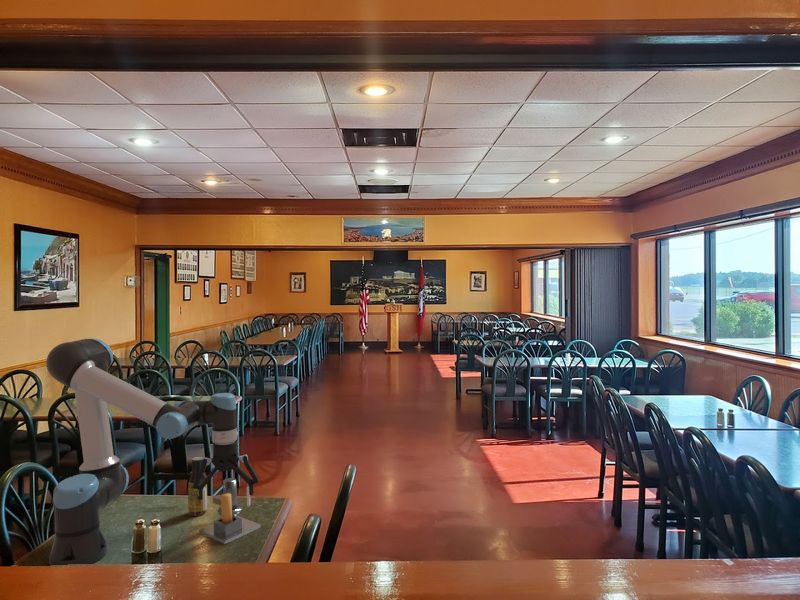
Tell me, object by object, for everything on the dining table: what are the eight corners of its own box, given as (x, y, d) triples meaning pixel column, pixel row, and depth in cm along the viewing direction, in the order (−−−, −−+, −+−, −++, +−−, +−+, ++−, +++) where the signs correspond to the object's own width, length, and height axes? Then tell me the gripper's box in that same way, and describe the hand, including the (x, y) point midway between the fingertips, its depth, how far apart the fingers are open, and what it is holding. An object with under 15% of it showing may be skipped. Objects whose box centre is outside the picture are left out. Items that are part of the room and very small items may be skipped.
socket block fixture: (190, 529, 182) (188, 484, 182) (226, 514, 193) (224, 472, 193) (224, 544, 171) (223, 496, 170) (260, 527, 182) (259, 482, 182)
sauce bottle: (184, 516, 193) (182, 460, 192) (196, 508, 199) (194, 454, 198) (200, 518, 191) (198, 461, 190) (211, 510, 197) (209, 456, 196)
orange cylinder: (220, 532, 177) (218, 495, 176) (228, 528, 179) (227, 492, 179) (226, 535, 175) (224, 497, 175) (234, 531, 177) (233, 494, 177)
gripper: (181, 448, 170) (184, 515, 171) (263, 442, 175) (266, 507, 175) (186, 441, 178) (188, 505, 178) (265, 435, 182) (267, 498, 183)
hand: (227, 506), depth 177 cm, fingers open, 13 cm apart
